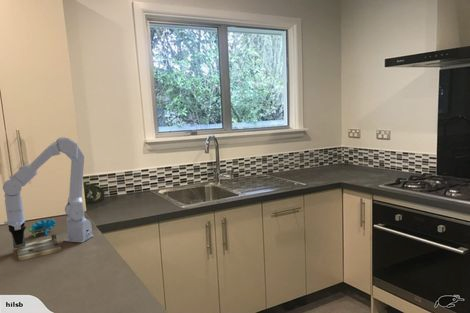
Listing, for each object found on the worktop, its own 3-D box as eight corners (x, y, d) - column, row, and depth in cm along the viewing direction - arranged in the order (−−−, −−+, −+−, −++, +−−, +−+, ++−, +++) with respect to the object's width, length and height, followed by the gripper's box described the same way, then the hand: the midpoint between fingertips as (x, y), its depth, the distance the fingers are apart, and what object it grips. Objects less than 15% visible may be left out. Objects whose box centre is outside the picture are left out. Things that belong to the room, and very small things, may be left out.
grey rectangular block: (24, 243, 145) (23, 229, 144) (26, 249, 139) (24, 234, 138) (13, 246, 142) (11, 231, 142) (14, 251, 137) (12, 236, 136)
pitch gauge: (55, 240, 154) (54, 231, 153) (61, 250, 141) (60, 241, 141) (16, 248, 146) (15, 239, 145) (19, 260, 133) (17, 250, 133)
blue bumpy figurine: (56, 225, 169) (53, 214, 162) (59, 235, 167) (57, 225, 159) (30, 233, 164) (26, 223, 156) (33, 244, 161) (29, 234, 154)
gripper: (2, 207, 144) (6, 240, 146) (3, 215, 132) (7, 250, 134) (22, 204, 148) (26, 235, 150) (25, 212, 136) (29, 246, 138)
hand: (18, 242), depth 142 cm, fingers closed on grey rectangular block, 3 cm apart
